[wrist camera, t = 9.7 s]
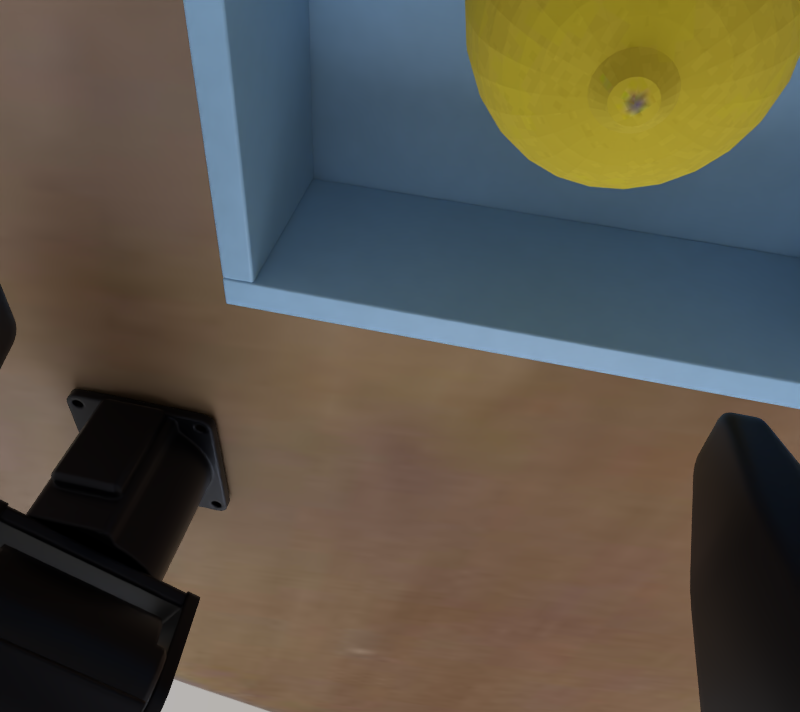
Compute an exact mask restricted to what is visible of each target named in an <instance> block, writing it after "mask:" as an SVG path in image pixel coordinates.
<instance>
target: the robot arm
mask: <svg viewBox="0 0 800 712" xmlns="http://www.w3.org/2000/svg"><path fill="white" fill-rule="evenodd" d="M15 336H16V322H15V319H14V317H13V314H12V312H11V309H10V307H9V304H8V302H7V299H6V297H5V294H4V292H3V289H2V287H1V284H0V368H1V366H2V364H3V362H4V360H5V359H6V357H7V355H8V353H9V351H10V349H11V347H12V345H13V343H14V340H15ZM67 403H68V406H69V408H70V411H71V413H72V416H73V418H74V421H75V423H76V426H77V428H78V431H79V434H78V435H77V437H76V438H75V440H74V441H73V443H72V444H71V446H70V447H69V449H68V450H67V451H66V453H65V454H64V456H63V457H62V459H61V460H60V462H59V463H58V465H57V466H56V467H55V469H54V470H53V472H52V474H51V479H50V480H49V482H48V483H47V485H46V486H45V487H44V489H43V490H42V492H41V493H40V495H39V496H38V498H37V499H36V501H35V502H34V504H33V505H32V506H31V508H30V509H29V511H28V512H27V514H26V515H25V514H23V513H21V512H19V511H17V510H15V509H13V508H11V507H9V506H8V503H6V502H4V501H2V500H0V712H160V711H161V709H162V708H163V705H164V703H165V700H166V698H167V696H168V693H169V690H170V688H171V685H172V682H173V679H174V676H175V673H176V670H177V667H178V664H179V661H180V658H181V655H182V652H183V649H184V646H185V643H186V640H187V637H188V634H189V631H190V627H191V624H192V621H193V618H194V615H195V612H196V609H197V606H198V603H199V600H200V597H199V596H197V595H195V594H193V593H191V592H189V591H188V592H187V593H185V592H183V591H181V590H179V589H177V588H175V587H173V586H171V585H169V584H167V583H165V582H163V581H162V580H163V578H164V576H165V574H166V572H167V570H168V568H169V565H170V563H171V561H172V559H173V557H174V555H175V553H176V551H177V549H178V547H179V545H180V543H181V541H182V539H183V537H184V535H185V533H186V531H187V528H188V526H189V524H190V522H191V520H192V518H193V516H194V514H195V512H196V510H197V508H198V506H200V507H205V508H209V509H214V510H220V511H222V510H225V509H226V508H227V506H228V504H229V501H230V498H229V493H228V487H227V482H226V476H225V471H224V466H223V460H222V455H221V450H220V444H219V439H218V433H217V428H216V424H215V421H214V420H213V419H212V418H210V417H209V416H207V415H204V414H200V413H195V412H190V411H185V410H180V409H175V408H170V407H165V406H160V405H155V404H150V403H145V402H140V401H135V400H131V399H126V398H121V397H116V396H111V395H106V394H101V393H96V392H91V391H86V390H81V389H74V390H73V391H72V392H71V393H70V395H69V396H68V398H67ZM690 595H691V611H692V622H693V632H694V643H695V654H696V664H697V675H698V685H699V696H700V707H701V712H800V464H799V463H798V462H797V460H796V459H795V458H794V457H793V455H792V454H791V453H790V452H789V451H788V449H787V448H786V447H785V446H784V444H783V443H782V442H781V441H780V439H779V438H778V437H777V436H776V435H775V433H774V432H773V431H772V430H771V428H770V427H769V426H768V425H767V424H766V423H765V422H764V421H763V420H762V419H760V418H757V417H752V416H747V415H741V414H736V413H725V414H723V415H722V416H721V417H720V418H719V419H718V421H717V422H716V424H715V426H714V428H713V430H712V431H711V433H710V435H709V437H708V438H707V440H706V442H705V444H704V446H703V447H702V449H701V451H700V453H699V455H698V457H697V460H696V463H695V467H694V475H693V505H692V537H691V570H690Z"/></svg>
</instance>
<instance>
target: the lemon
mask: <svg viewBox="0 0 800 712" xmlns="http://www.w3.org/2000/svg"><path fill="white" fill-rule="evenodd" d="M465 19H466V46H467V53H468V56H469V60H470V63H471V67H472V70H473V74H474V77H475V81H476V84H477V88H478V91H479V95H480V97H481V99H482V101H483V102H484V104H485V106H486V108H487V109H488V111H489V113H490V114H491V116H492V118H493V119H494V121H495V123H496V124H497V126H498V128H499V130H500V131H501V132H502V133H503V135H504V136H505V137H506V138H507V139H508V140H509V141H510V142H511V143H512V144H513V145H514V146H515V147H516V148H517V149H518V150H519V151H520V152H521V153H522V154H523V155H524V156H525V157H526V158H527V159H529V160H530V161H532V162H533V163H535V164H537V165H538V166H540V167H542V168H543V169H545V170H547V171H548V172H550V173H552V174H554V175H555V176H557V177H560V178H563V179H566V180H570V181H573V182H576V183H579V184H583V185H586V186H589V187H602V188H615V189H629V188H636V187H643V186H651V185H658V184H662V183H665V182H667V181H670V180H673V179H676V178H679V177H681V176H684V175H687V174H690V173H692V172H695V171H697V170H699V169H700V168H702V167H704V166H705V165H707V164H709V163H710V162H712V161H714V160H715V159H717V158H719V157H720V156H722V155H724V154H725V153H727V152H729V151H730V150H731V149H732V148H733V147H734V146H735V145H736V144H738V143H739V142H740V141H741V140H742V139H743V138H744V137H745V136H746V135H747V134H748V133H749V132H751V131H752V130H753V129H754V128H755V127H756V126H757V125H758V124H759V123H760V122H761V121H762V120H763V118H764V117H765V116H766V114H767V113H768V111H769V110H770V108H771V107H772V106H773V104H774V103H775V101H776V100H777V98H778V97H779V95H780V94H781V93H782V91H783V90H784V88H785V87H786V85H787V84H788V83H789V81H790V79H791V76H792V74H793V71H794V69H795V66H796V64H797V61H798V59H799V57H800V0H465Z"/></svg>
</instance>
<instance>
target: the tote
mask: <svg viewBox="0 0 800 712" xmlns="http://www.w3.org/2000/svg"><path fill="white" fill-rule="evenodd" d="M183 3H184V10H185V17H186V24H187V31H188V38H189V44H190V51H191V58H192V65H193V72H194V79H195V86H196V93H197V100H198V107H199V114H200V121H201V128H202V135H203V142H204V149H205V156H206V163H207V170H208V176H209V183H210V190H211V197H212V204H213V211H214V218H215V225H216V232H217V239H218V246H219V253H220V260H221V267H222V274H223V277H224V278H223V283H224V290H225V297H226V303H228V304H233V305H238V306H243V307H249V308H254V309H260V310H265V311H271V312H276V313H281V314H287V315H292V316H298V317H303V318H309V319H314V320H319V321H325V322H330V323H336V324H341V325H346V326H352V327H357V328H363V329H368V330H374V331H379V332H384V333H390V334H395V335H401V336H406V337H412V338H417V339H422V340H428V341H433V342H439V343H444V344H450V345H455V346H460V347H466V348H471V349H477V350H482V351H488V352H493V353H498V354H504V355H509V356H515V357H520V358H526V359H531V360H536V361H542V362H547V363H553V364H558V365H564V366H569V367H574V368H580V369H585V370H591V371H596V372H602V373H607V374H612V375H618V376H623V377H629V378H634V379H640V380H645V381H650V382H656V383H661V384H667V385H672V386H678V387H683V388H688V389H694V390H699V391H705V392H710V393H715V394H721V395H726V396H732V397H737V398H743V399H748V400H753V401H759V402H764V403H770V404H775V405H781V406H786V407H791V408H797V409H800V57H799V59H798V61H797V64H796V66H795V69H794V71H793V74H792V76H791V79H790V81H789V83H788V84H787V85H786V87H785V88H784V90H783V91H782V93H781V94H780V95H779V97H778V98H777V100H776V101H775V103H774V104H773V106H772V107H771V108H770V110H769V111H768V113H767V114H766V116H765V117H764V118H763V120H762V121H761V122H760V123H759V124H758V125H757V126H756V127H755V128H754V129H753V130H752V131H751V132H749V133H748V134H747V135H746V136H745V137H744V138H743V139H742V140H741V141H740V142H739V143H738V144H736V145H735V146H734V147H733V148H732V149H731V150H730V151H729V152H727V153H725V154H724V155H722V156H720V157H719V158H717V159H715V160H714V161H712V162H710V163H709V164H707V165H705V166H704V167H702V168H700V169H699V170H697V171H695V172H692V173H690V174H687V175H684V176H681V177H679V178H676V179H673V180H670V181H667V182H665V183H662V184H658V185H651V186H643V187H636V188H629V189H615V188H602V187H589V186H586V185H583V184H579V183H576V182H573V181H570V180H566V179H563V178H560V177H557V176H555V175H554V174H552V173H550V172H548V171H547V170H545V169H543V168H542V167H540V166H538V165H537V164H535V163H533V162H532V161H530V160H529V159H527V158H526V157H525V156H524V155H523V154H522V153H521V152H520V151H519V150H518V149H517V148H516V147H515V146H514V145H513V144H512V143H511V142H510V141H509V140H508V139H507V138H506V137H505V136H504V135H503V133H502V132H501V131H500V130H499V128H498V126H497V124H496V123H495V121H494V119H493V118H492V116H491V114H490V113H489V111H488V109H487V108H486V106H485V104H484V102H483V101H482V99H481V97H480V95H479V91H478V88H477V84H476V81H475V77H474V74H473V70H472V67H471V63H470V60H469V56H468V53H467V46H466V19H465V0H183Z"/></svg>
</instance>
